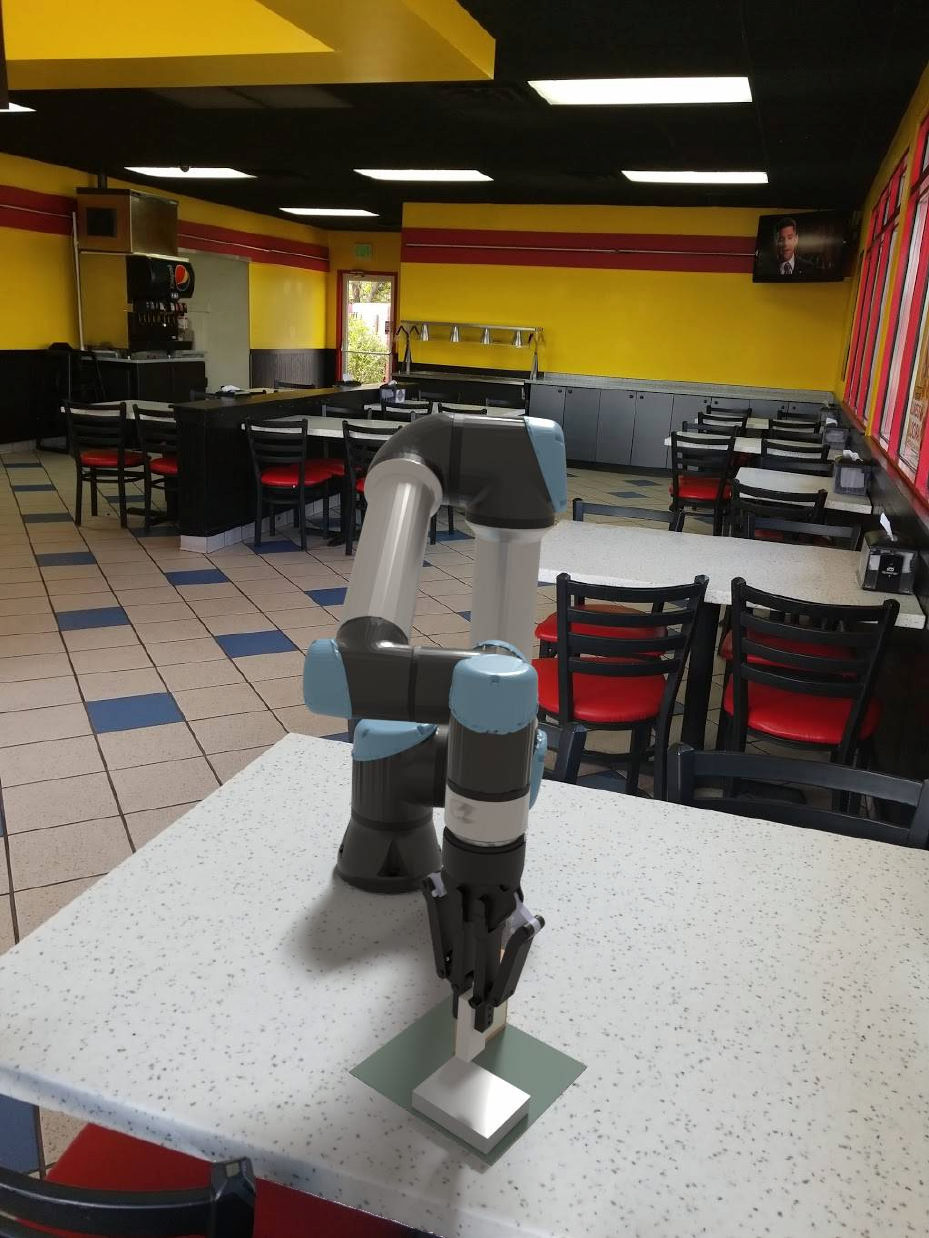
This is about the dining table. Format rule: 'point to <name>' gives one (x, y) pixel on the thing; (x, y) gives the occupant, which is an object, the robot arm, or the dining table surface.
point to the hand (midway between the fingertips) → (470, 1051)
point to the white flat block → (471, 1103)
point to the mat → (503, 1056)
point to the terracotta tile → (498, 1019)
